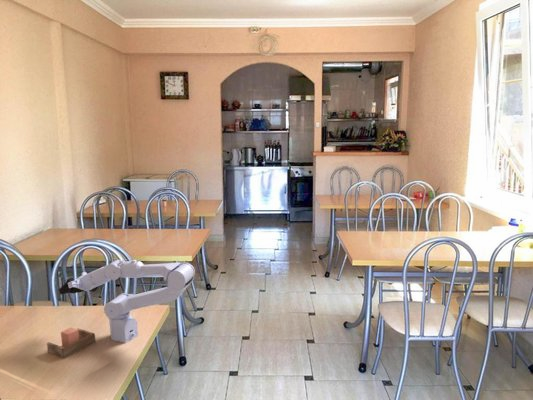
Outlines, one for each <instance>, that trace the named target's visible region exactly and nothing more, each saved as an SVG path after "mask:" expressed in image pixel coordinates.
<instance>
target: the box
mask: <svg viewBox="0 0 533 400" xmlns="http://www.w3.org/2000/svg"><path fill="white" fill-rule="evenodd" d="M76 329H77V330H78V332H79V340H78V341H76V342H74V343H72V344H70V345H68V346H66V347H62V345H58V344H55V343H52V342H49V341H48V342H46V346H47V353H48V354H51V355H53V356H57V357H58V358H61V359H66V358H68V357H70V356H72V355H74V354H76V353H78V352H81V350H85V349H86V348H87V347H89V346H92V345H93V344H96V335H95V333H94V332H91V331H88V330H85V329H82V328H76Z"/></svg>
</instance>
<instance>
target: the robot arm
mask: <svg viewBox="0 0 533 400" xmlns="http://www.w3.org/2000/svg"><path fill="white" fill-rule="evenodd" d="M195 274H196V270H195V267H194V266H193V265H192V264H191V263H190V262H189V263H188V262H179V261H178V262H168V263H167V262H166V263H165V262H164V263H151V264H150V263H149V264H145V263H143V262H142V261H140V260H139V261H137V259H132V260H131V261H128V260H127V261H124V259H115V260H114V261H112V262H110V263H109V264H106V265H104V266H102V267H100V268H98V269H95V270H93V271H90V272H88V273H87V272H86V271H83V272H81V274H80V276H79V277H77V278H76V279H74V277H68V279H66V281H65V283H64V284H63V285H61V287H60V288H59V289H58V292H59V294H60V295H65V294H76V293H78V294H79V293H83V292H95V291H96V289H97V287H99V286H101V285H104V284H107V283H108V282H111V281H117V280H118V279H119V278H122V279H125V278H127V279H130V278H131V279H133V278H134V279H138V278H139V279H140V278H142V276H143V275H150V276H162V278H163V280H164V281H165V282H167V286H165V287H161V288H157V289H156V288H155V289H152V290H148V291H145V292H140V293H137V294H134V293H125V292H122V293H120V294H119V295H118V296H117V297H115V298H114V299H112V300H111V301H109V302H107V303H105V305H104V306H103V310H104V314H105V316H106V317H107V318H108V320H109V329H110V330H109V331H110V339H111V340H112V341H114V342H121V343H124V344H126V343H128V342H130V341H132V340H133V339H136V338H138V337H139V333H138V332H139V331H138V321H137V320H136V318H134V317H133V316H132V315H131V314H130V313H131V311H133V310H138V309H142V308H146V307H151V306H154V305H159V304H164V303H167V302H171V301H176V300H177V299H179V297H180V296H182V294H183V293H184V292H185V291H186V290H187V288H188V287H189V286H190V284H191V283H193V281H194V278H195Z"/></svg>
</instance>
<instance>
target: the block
mask: <svg viewBox="0 0 533 400" xmlns="http://www.w3.org/2000/svg"><path fill="white" fill-rule="evenodd" d="M77 329H78V328H74V327H69V328H67V329H64V330H62V331H61V332H60V338H61V346H62V347H66V346H68V345H70V344H72V343H74V342H76V341H78V340H79V332H78V330H77Z"/></svg>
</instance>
